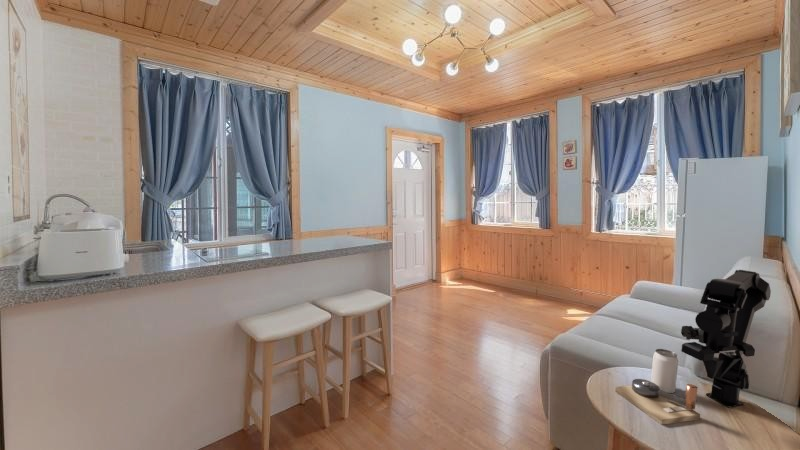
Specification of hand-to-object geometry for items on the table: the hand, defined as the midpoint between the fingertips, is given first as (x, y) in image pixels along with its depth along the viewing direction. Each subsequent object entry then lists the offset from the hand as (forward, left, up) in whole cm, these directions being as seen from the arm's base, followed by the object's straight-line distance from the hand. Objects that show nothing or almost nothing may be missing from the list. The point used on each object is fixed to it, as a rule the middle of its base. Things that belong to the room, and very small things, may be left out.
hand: (714, 377), depth 101 cm
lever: (+10, -7, -9) cm, 15 cm away
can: (+1, -13, -11) cm, 18 cm away
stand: (+12, -6, -11) cm, 18 cm away
